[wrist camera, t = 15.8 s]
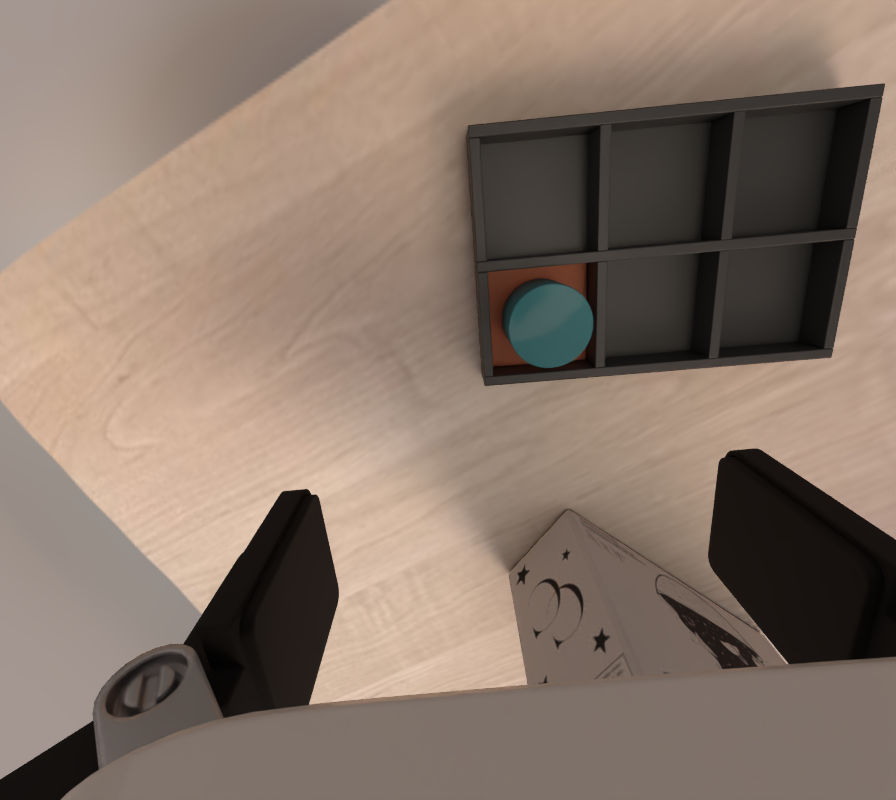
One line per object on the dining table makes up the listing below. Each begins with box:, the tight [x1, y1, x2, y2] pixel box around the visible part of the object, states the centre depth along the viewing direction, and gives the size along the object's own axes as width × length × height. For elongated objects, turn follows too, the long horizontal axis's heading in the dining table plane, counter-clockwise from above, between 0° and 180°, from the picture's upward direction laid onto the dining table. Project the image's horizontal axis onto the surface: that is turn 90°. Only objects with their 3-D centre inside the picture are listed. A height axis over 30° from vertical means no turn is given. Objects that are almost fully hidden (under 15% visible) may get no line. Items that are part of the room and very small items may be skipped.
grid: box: [466, 84, 885, 386], centre depth 27 cm, size 14×21×3 cm
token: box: [502, 278, 593, 368], centre depth 27 cm, size 5×5×4 cm
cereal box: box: [509, 510, 787, 685], centre depth 26 cm, size 22×8×25 cm, turn 55°
